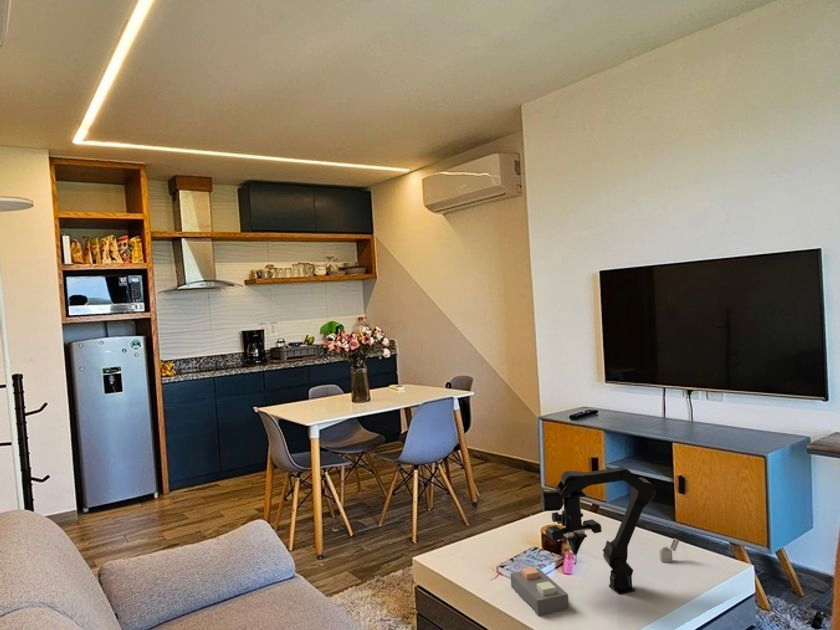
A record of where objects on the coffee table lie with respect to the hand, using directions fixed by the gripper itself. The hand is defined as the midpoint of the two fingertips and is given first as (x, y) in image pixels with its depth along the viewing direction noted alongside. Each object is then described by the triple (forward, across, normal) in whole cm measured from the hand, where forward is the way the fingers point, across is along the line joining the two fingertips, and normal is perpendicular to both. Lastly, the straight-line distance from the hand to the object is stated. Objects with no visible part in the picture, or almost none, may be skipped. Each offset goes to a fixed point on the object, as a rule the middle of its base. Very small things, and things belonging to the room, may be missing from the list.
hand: (574, 554), depth 205 cm
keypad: (+13, +14, -1) cm, 19 cm away
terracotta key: (+12, +14, -7) cm, 19 cm away
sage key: (+12, +14, +5) cm, 19 cm away
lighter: (+13, -44, -8) cm, 47 cm away
